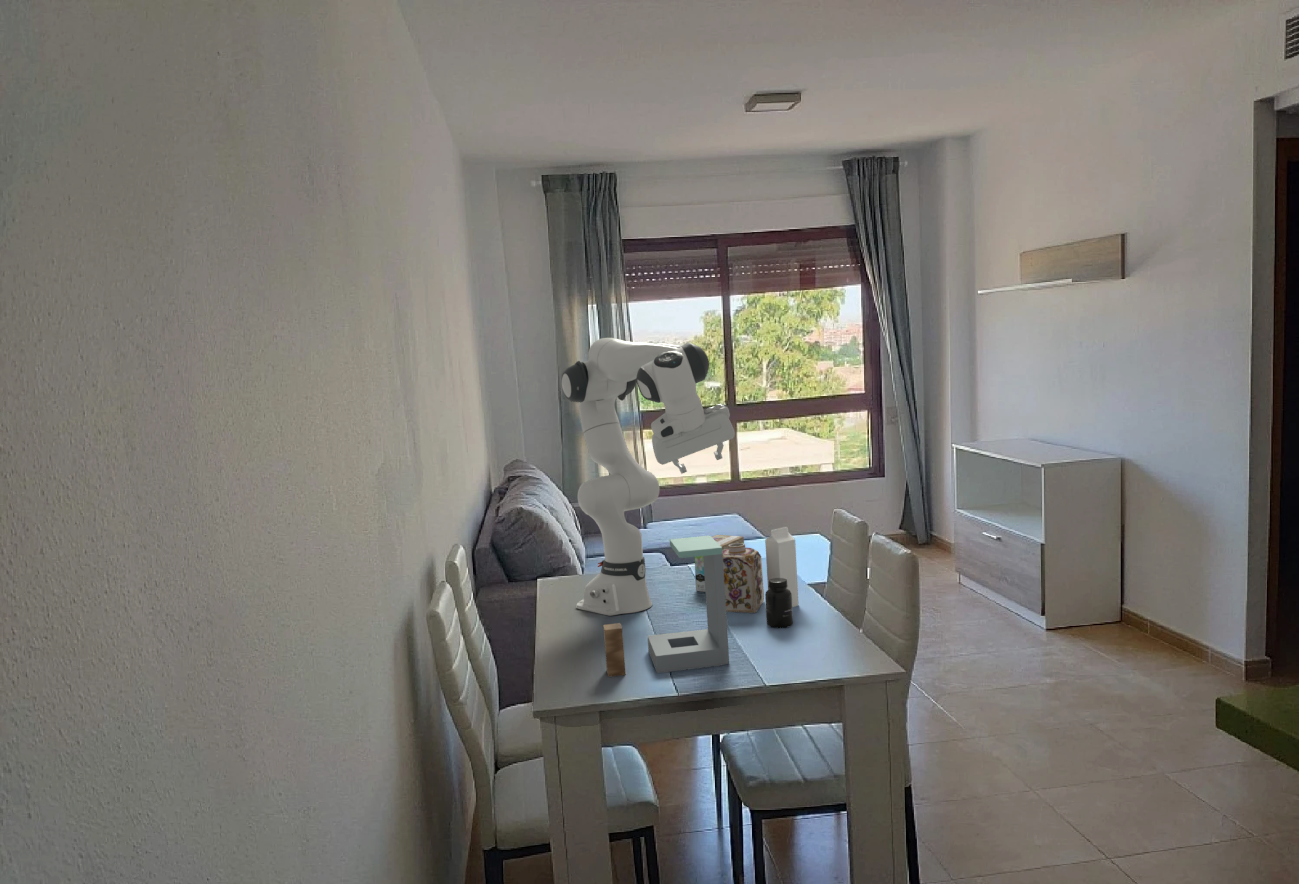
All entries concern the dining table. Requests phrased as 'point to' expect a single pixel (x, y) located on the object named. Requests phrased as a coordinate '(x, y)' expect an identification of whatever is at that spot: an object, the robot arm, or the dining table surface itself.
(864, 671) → the dining table surface
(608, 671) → the walnut peg
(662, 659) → the socket stand
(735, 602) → the decorative jar
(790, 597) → the supplement bottle
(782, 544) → the milk
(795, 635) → the dining table surface
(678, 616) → the dining table surface
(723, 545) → the tea box
